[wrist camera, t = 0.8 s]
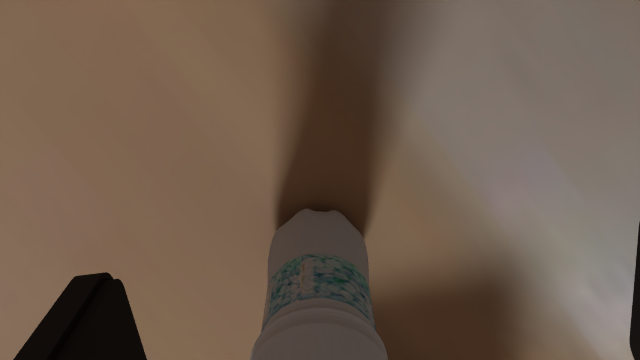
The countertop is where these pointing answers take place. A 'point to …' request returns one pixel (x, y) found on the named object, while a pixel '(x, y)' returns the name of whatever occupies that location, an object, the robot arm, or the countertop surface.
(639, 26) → the countertop surface
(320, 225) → the bottle
